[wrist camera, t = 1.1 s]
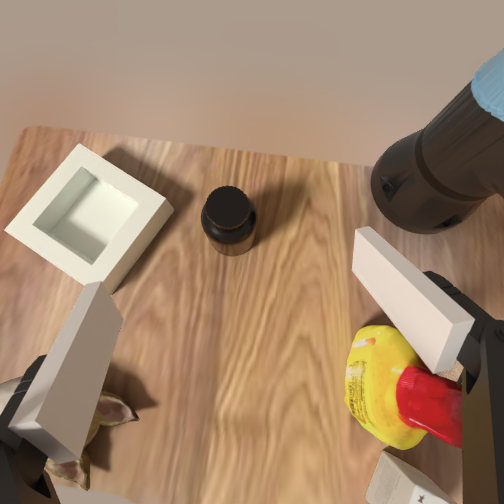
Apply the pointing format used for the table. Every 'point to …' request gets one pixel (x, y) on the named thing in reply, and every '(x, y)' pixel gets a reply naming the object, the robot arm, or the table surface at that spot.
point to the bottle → (399, 391)
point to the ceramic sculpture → (106, 414)
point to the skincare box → (402, 484)
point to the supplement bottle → (229, 220)
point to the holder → (91, 219)
